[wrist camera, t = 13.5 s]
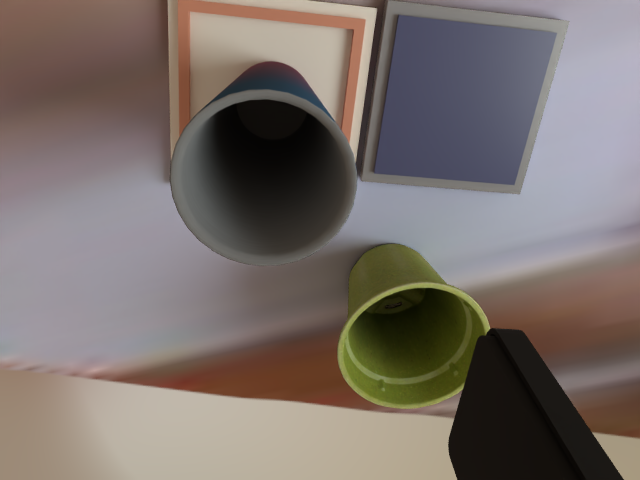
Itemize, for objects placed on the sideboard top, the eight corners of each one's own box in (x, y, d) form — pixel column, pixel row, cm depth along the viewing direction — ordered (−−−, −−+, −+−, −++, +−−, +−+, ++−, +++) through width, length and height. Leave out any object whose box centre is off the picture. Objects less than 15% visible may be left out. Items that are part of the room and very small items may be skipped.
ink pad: (561, 20, 32) (571, 21, 31) (514, 189, 37) (521, 195, 36) (385, -1, 31) (389, 0, 30) (359, 176, 36) (362, 182, 34)
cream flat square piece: (375, 7, 31) (378, 8, 30) (349, 196, 36) (351, 202, 35) (169, -16, 30) (165, -16, 29) (172, 182, 35) (169, 188, 34)
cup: (322, 159, 34) (347, 269, 21) (217, 153, 34) (173, 263, 20) (331, 49, 31) (367, 95, 18) (216, 40, 31) (164, 81, 17)
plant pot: (441, 206, 37) (482, 265, 29) (459, 313, 41) (499, 390, 33) (313, 239, 38) (320, 306, 30) (343, 341, 42) (356, 423, 34)
